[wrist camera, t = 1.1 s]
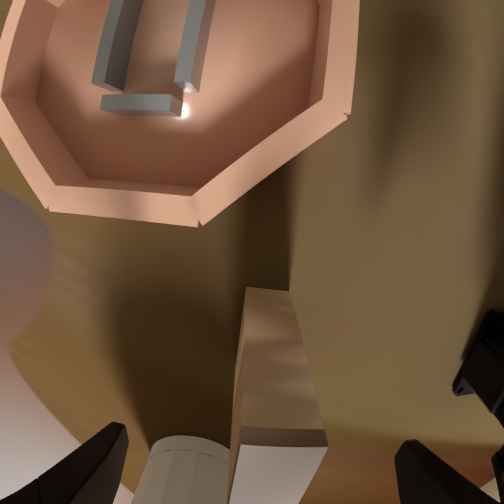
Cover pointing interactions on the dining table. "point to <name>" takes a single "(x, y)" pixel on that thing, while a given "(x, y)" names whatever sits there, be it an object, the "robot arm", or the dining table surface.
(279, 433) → the block
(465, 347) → the dining table surface
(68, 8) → the candle dish
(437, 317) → the dining table surface
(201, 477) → the cup
